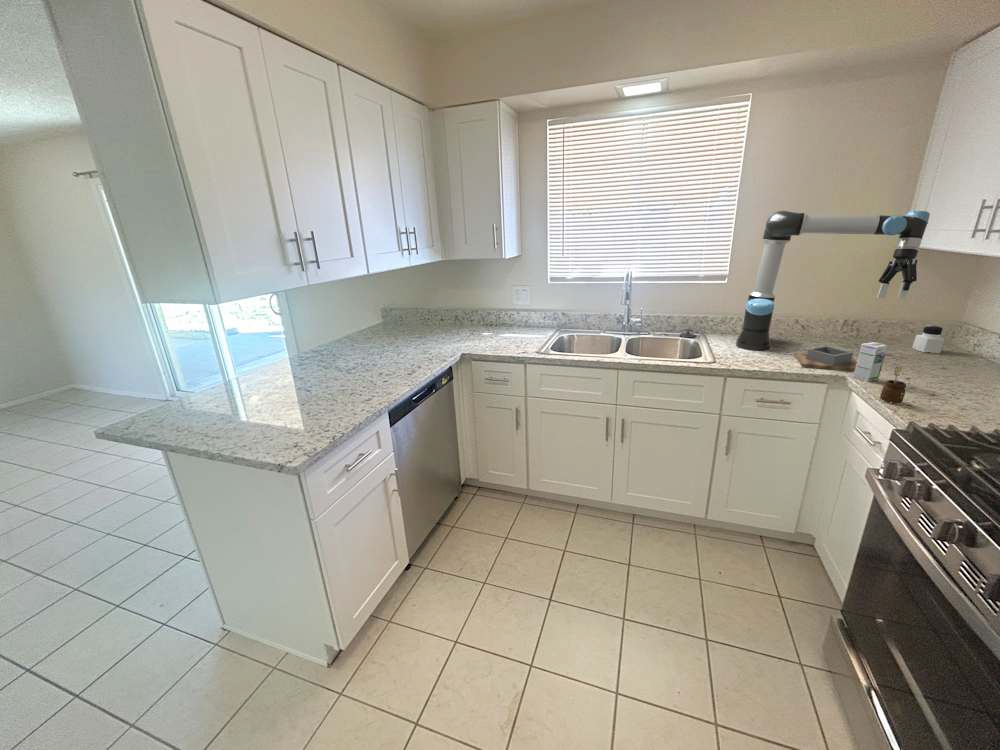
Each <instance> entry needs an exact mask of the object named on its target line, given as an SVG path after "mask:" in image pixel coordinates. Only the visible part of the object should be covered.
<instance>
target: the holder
mask: <svg viewBox="0 0 1000 750" xmlns="http://www.w3.org/2000/svg"><path fill="white" fill-rule="evenodd" d="M806 354H807V355H806V359H809V360H813V361H816V362H820V363H823V364H827V365H831V366H835V365H840V364H845V363H850V362H851V359H852V357H853V355H854V352H853V351H848V350H844V349H840V348H837V347H832V346H828V345H824V346H823V345H822V346H818V347H813V348H812V347H811V348H808V349H807V352H806Z"/></svg>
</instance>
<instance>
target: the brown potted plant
mask: <svg viewBox="0 0 1000 750" xmlns="http://www.w3.org/2000/svg"><path fill="white" fill-rule="evenodd" d="M902 367H903V366H899V365H898V366H896V365H895V369H894V371H893V372H894V373H893V375H894V377H893V379H889V380H886V381H885V384H884V386H883V387H882V389H881V393H880V396H879V399H880V400H881V399H882V400H884V401H887V402H892V403H900V404H902V403H903V401H904V398H905V395H906V391H907V390H906V387H907V384H906V383H905V382H904V381H902V380H904V377H905V376H904V375H905V374H903V373H901V371H902V369H903V368H902ZM901 375H902V376H901ZM899 376H900V377H899ZM898 377H899V378H898ZM882 400H881V401H882ZM884 401H883V402H884ZM887 402H886V403H887ZM901 402H902V403H901Z"/></svg>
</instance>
